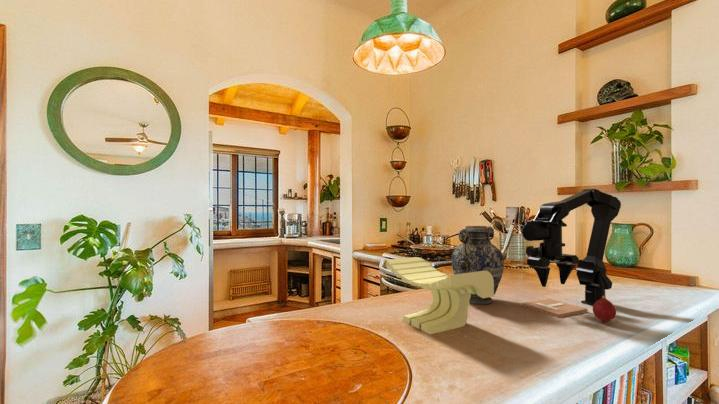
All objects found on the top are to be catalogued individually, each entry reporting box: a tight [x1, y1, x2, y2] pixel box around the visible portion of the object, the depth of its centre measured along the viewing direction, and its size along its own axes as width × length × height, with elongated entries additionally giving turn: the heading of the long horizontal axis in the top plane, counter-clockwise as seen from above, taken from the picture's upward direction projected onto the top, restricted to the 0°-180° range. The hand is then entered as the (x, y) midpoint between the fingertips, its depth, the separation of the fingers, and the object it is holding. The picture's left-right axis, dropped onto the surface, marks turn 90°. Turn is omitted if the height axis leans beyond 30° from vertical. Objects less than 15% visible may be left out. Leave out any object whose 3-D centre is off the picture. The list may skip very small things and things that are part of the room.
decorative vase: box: [451, 225, 505, 305], centre depth 128 cm, size 21×19×28 cm
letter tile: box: [521, 298, 588, 318], centre depth 117 cm, size 14×14×1 cm
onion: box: [592, 295, 617, 324], centre depth 103 cm, size 6×6×8 cm
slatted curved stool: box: [386, 256, 495, 335], centre depth 104 cm, size 30×16×18 cm, turn 29°
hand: (553, 285), depth 117 cm, fingers open, 9 cm apart
